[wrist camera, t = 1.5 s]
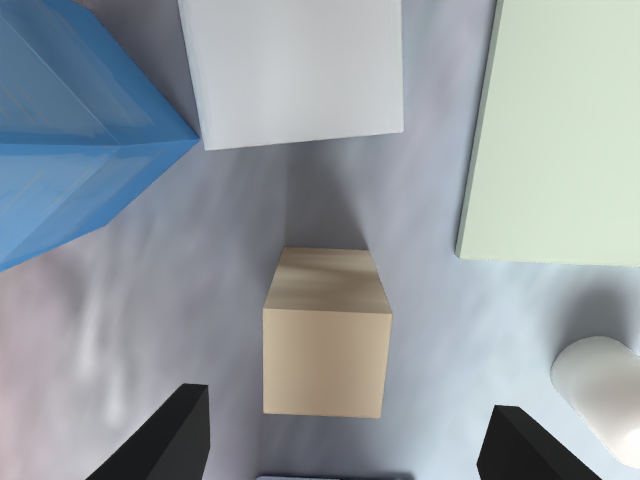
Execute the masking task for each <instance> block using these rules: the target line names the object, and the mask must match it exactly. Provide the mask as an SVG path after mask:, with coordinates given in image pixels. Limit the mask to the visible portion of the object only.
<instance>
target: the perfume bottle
mask: <svg viewBox="0 0 640 480" xmlns="http://www.w3.org/2000/svg"><path fill="white" fill-rule="evenodd" d="M199 140H200V138H199V137H198V136H197V135H196V134H195V132H194V131H193V130H192V129H191V128H190V127H189V125H188V124H187V123H186V122H185V121H184V120H183V118H182V117H181V116H180V115H179V114H178V113H177V111H176V110H175V109H174V108H173V107H172V106H171V104H170V103H169V102H168V101H167V100H166V99H165V97H164V96H163V95H162V94H161V93H160V92H159V90H158V89H157V88H156V87H155V86H154V85H153V83H152V82H151V81H150V80H149V79H148V78H147V76H146V75H145V74H144V73H143V72H142V71H141V69H140V68H139V67H138V66H137V65H136V64H135V62H134V61H133V60H132V59H131V58H130V57H129V55H128V54H127V53H126V52H125V51H124V50H123V48H122V47H121V46H120V45H119V44H118V43H117V42H116V40H115V39H114V38H113V37H112V36H111V35H110V33H109V32H108V31H107V30H106V29H105V28H104V26H103V25H102V24H101V23H100V22H99V21H98V19H97V18H96V17H95V16H94V15H93V14H92V12H91V11H90V10H89V9H87V8H85V7H83V6H81V5H79V4H77V3H75V2H73V1H71V0H0V272H2V271H4V270H6V269H8V268H11V267H13V266H15V265H17V264H20V263H22V262H24V261H26V260H29V259H31V258H33V257H35V256H38V255H40V254H42V253H44V252H47V251H49V250H51V249H53V248H56V247H58V246H60V245H62V244H65V243H67V242H69V241H71V240H74V239H76V238H78V237H80V236H83V235H85V234H87V233H89V232H92V231H94V230H96V229H98V228H101V227H103V226H105V225H106V224H107V223H108V222H109V221H110V220H111V219H113V218H114V217H115V216H116V215H117V214H118V213H119V212H120V211H121V210H122V209H124V208H125V207H126V206H127V205H128V204H129V203H130V202H131V201H132V200H134V199H135V198H136V197H137V196H138V195H139V194H140V193H141V192H142V191H144V190H145V189H146V188H147V187H148V186H149V185H150V184H151V183H152V182H154V181H155V180H156V179H157V178H158V177H159V176H160V175H161V174H162V173H164V172H165V171H166V170H167V169H168V168H169V167H170V166H171V165H172V164H174V163H175V162H176V161H177V160H178V159H179V158H180V157H181V156H182V155H184V154H185V153H186V152H187V151H188V150H189V149H190V148H191V147H192V146H194V145H195V144H196V143H197V142H198V141H199Z"/></svg>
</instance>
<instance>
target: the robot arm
mask: <svg viewBox="0 0 640 480" xmlns="http://www.w3.org/2000/svg"><path fill="white" fill-rule="evenodd" d="M209 450H210V423H209V394H208V385H200V384H186V383H184V384H182V385H181V386H180V387H179V388H178V389H177V390H176V391H175V392H174V393H173V394H172V395H171V396H170V397H169V398H168V399H167V400H166V401H165V402H164V403H163V404H162V406H161V407H160V408H159V409H158V410H157V411H156V412H155V413H154V414H153V415H152V416H151V417H150V418H149V419H148V420H147V421H146V422H145V423H144V424H143V425H142V426H141V427H140V428H139V429H138V430H137V431H136V432H135V433H134V434H133V435H132V436H131V437H130V438H129V439H128V440H127V441H126V442H125V443H124V444H123V445H122V446H121V447H120V448H119V449H118V450H117V451H116V452H115V453H114V454H113V455H111V456H110V457H109V458H108V459H107V460H106V461H105V462H104V463H103V464H102V465H101V466H100V467H99V468H98V469H97V470H95V471H94V472H93V473H92V474H91V475H90V476H89V477H88V478H87V479H85V480H202V476H203V473H204V469H205V465H206V461H207V457H208V454H209ZM476 465H477V468H478V472H479V475H480V478H481V480H602V479H601V478H600V477H598V476H597V475H596V474H595V473H594V472H593V471H592V470H590V469H589V468H588V467H587V466H586V465H585V464H584V463H583V462H581V461H580V460H579V459H578V458H577V457H576V456H575V455H574V454H572V453H571V452H570V451H569V450H568V449H567V448H566V447H565V446H563V445H562V444H561V443H560V442H559V441H558V440H557V439H556V438H554V437H553V436H552V435H551V434H550V433H549V432H548V431H547V430H545V429H544V428H543V427H542V426H541V425H540V424H539V423H537V422H536V421H535V420H534V419H533V418H532V417H531V416H529V415H528V414H527V413H526V412H525V411H523V410H522V409H521V408H520V407H517V406H502V405H495V406H494V409H493V412H492V416H491V419H490V422H489V425H488V429H487V432H486V435H485V438H484V442H483V445H482V448H481V451H480V455H479V458H478V461H477V464H476ZM256 480H338V479H315V478H292V477H268V476H261V477H258V478H257V479H256Z"/></svg>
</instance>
